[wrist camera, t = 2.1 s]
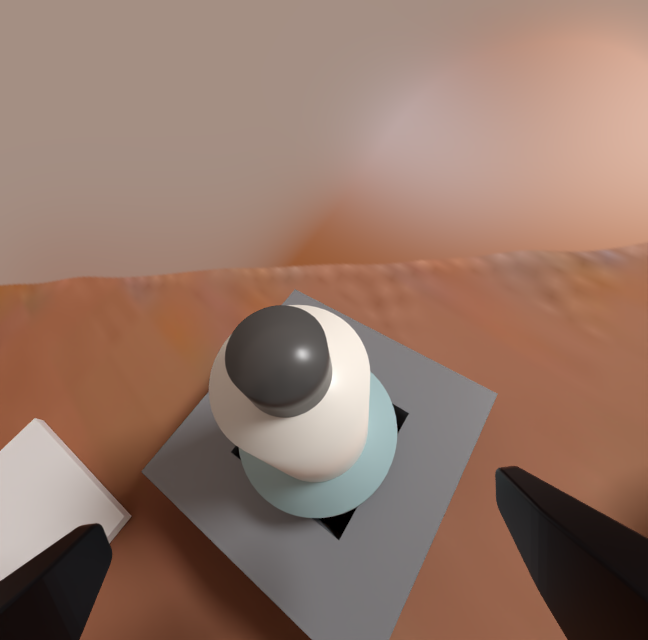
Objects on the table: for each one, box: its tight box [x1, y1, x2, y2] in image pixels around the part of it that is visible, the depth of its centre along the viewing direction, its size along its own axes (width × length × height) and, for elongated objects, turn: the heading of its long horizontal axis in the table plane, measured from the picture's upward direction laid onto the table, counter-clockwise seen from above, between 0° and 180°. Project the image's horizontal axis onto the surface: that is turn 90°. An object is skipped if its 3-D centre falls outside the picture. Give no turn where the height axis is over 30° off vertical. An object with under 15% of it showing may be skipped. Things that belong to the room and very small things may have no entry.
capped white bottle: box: [209, 305, 397, 518], centre depth 13 cm, size 7×7×12 cm
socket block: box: [141, 290, 497, 640], centre depth 17 cm, size 12×12×3 cm
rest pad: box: [0, 418, 132, 581], centre depth 17 cm, size 9×9×1 cm
